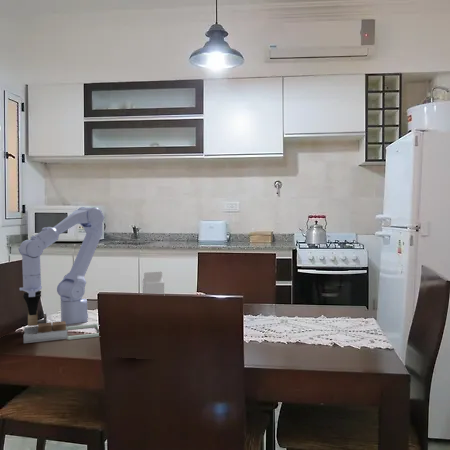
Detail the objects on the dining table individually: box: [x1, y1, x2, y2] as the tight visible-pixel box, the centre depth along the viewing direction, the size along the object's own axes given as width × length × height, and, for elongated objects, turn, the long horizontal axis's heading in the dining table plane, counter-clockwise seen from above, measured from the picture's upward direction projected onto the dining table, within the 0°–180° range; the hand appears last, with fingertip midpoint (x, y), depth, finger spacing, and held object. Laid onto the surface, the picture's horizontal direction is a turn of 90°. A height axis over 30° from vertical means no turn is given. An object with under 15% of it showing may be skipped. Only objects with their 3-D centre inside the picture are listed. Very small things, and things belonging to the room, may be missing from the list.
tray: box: [66, 323, 100, 341], centre depth 154 cm, size 11×13×2 cm
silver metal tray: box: [22, 324, 68, 344], centre depth 150 cm, size 13×10×3 cm
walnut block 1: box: [37, 322, 53, 333], centre depth 150 cm, size 4×4×4 cm
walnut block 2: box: [52, 320, 67, 331], centre depth 151 cm, size 4×4×4 cm
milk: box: [142, 271, 165, 295], centre depth 150 cm, size 6×6×22 cm
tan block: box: [27, 310, 48, 327], centre depth 158 cm, size 6×5×9 cm
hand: (33, 313), depth 158 cm, fingers closed on tan block, 3 cm apart
